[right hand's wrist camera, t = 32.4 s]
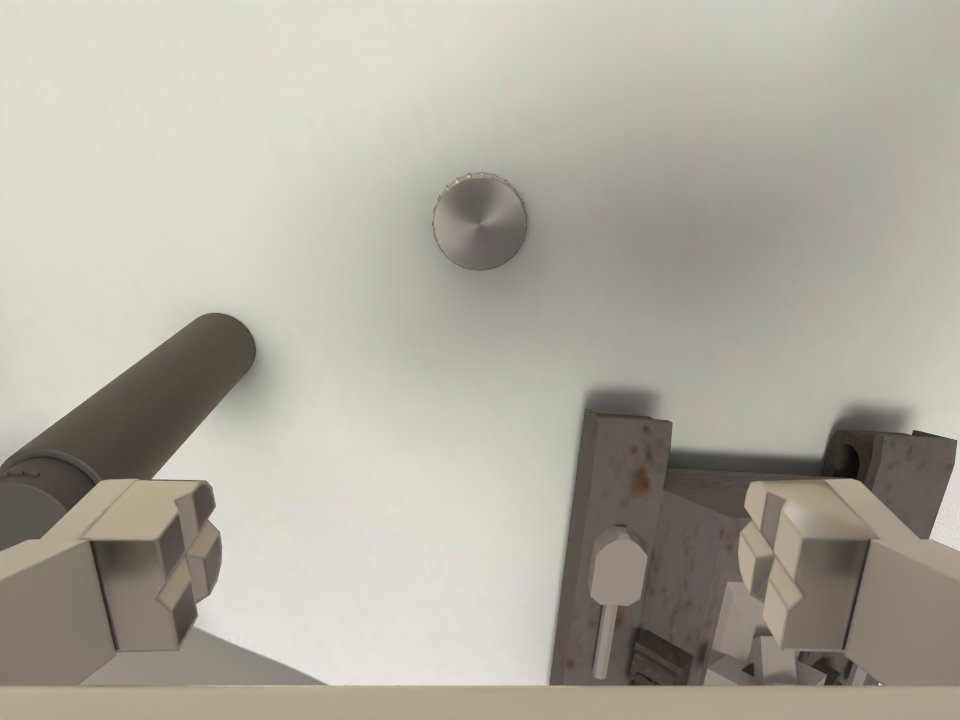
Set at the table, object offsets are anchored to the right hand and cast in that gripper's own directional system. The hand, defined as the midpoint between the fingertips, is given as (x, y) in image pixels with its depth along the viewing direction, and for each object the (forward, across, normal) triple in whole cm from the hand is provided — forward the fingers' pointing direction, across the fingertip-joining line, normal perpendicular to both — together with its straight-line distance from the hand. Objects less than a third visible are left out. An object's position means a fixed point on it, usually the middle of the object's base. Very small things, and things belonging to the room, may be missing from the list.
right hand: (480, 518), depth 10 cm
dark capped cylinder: (+30, +16, +8) cm, 35 cm away
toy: (+30, -16, +23) cm, 41 cm away
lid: (+28, 0, 0) cm, 28 cm away
